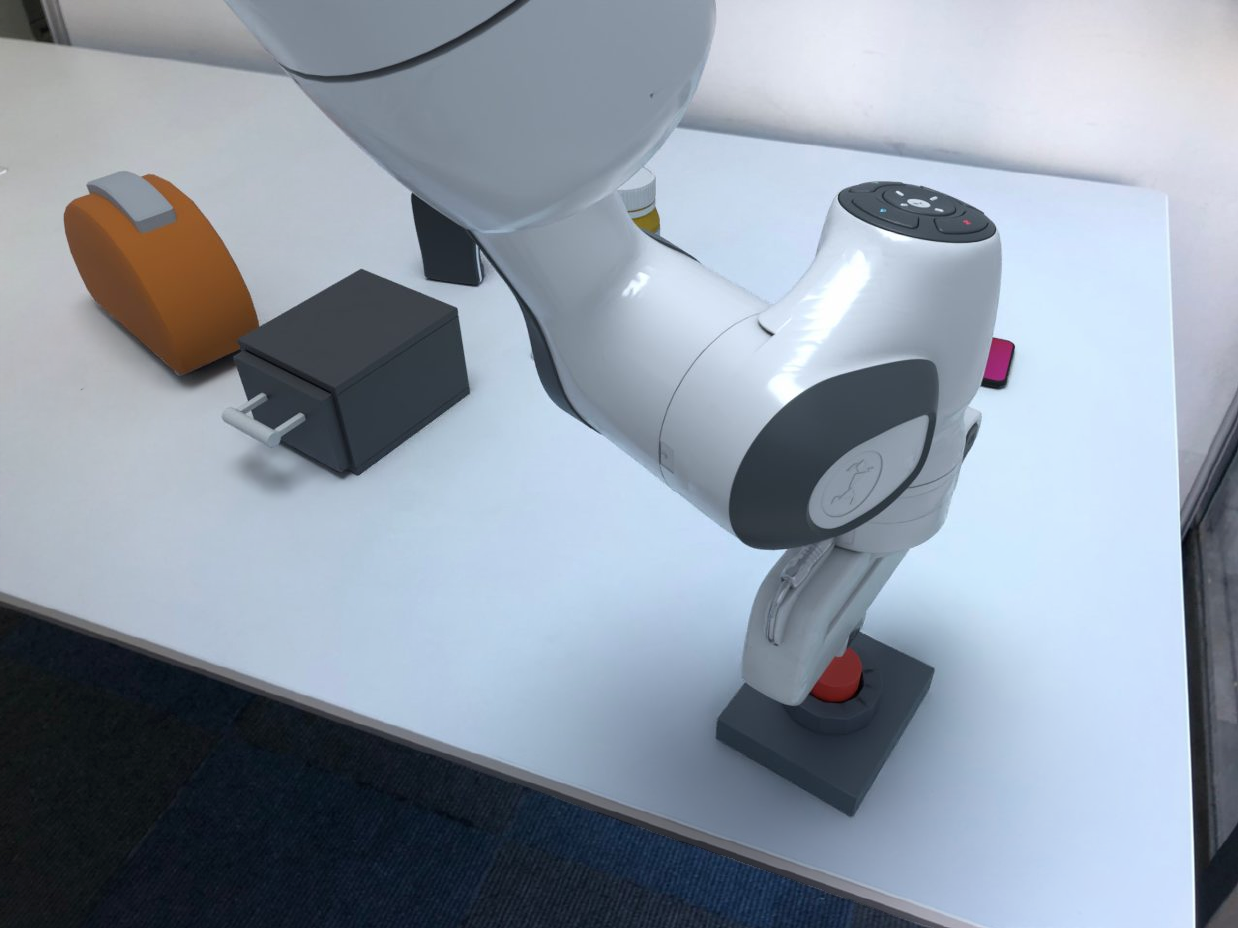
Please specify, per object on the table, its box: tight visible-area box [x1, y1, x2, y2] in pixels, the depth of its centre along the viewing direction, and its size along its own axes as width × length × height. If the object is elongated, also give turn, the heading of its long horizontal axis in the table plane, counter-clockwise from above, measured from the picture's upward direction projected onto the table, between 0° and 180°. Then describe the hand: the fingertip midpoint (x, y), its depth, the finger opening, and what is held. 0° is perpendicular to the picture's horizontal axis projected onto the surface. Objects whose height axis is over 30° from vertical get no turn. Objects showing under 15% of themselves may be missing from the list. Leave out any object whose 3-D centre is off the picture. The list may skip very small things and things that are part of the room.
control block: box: [715, 631, 936, 818], centre depth 67 cm, size 12×10×4 cm
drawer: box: [221, 350, 351, 473], centre depth 90 cm, size 18×11×8 cm, turn 144°
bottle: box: [617, 165, 661, 236], centre depth 103 cm, size 7×7×15 cm
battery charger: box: [410, 192, 485, 286], centre depth 110 cm, size 7×4×11 cm, turn 73°
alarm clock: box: [63, 170, 260, 377], centre depth 101 cm, size 23×9×17 cm, turn 44°
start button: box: [810, 647, 862, 703], centre depth 65 cm, size 4×4×2 cm
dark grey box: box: [237, 268, 471, 476], centre depth 92 cm, size 15×13×10 cm
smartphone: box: [981, 336, 1016, 388], centre depth 99 cm, size 8×1×15 cm
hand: (839, 638), depth 63 cm, fingers closed
